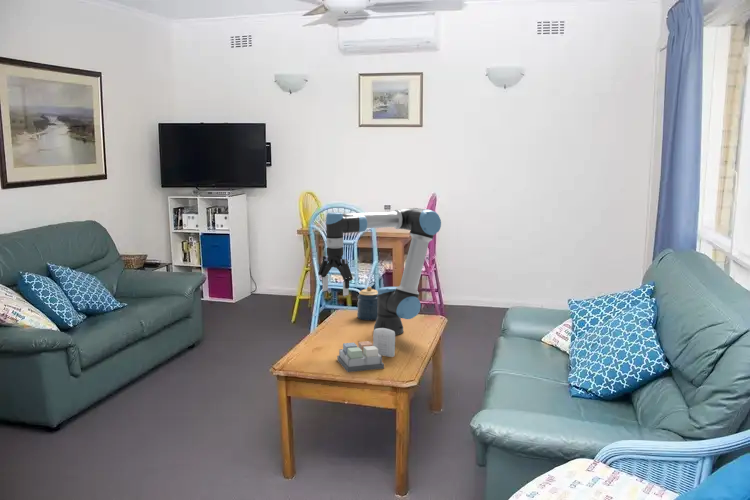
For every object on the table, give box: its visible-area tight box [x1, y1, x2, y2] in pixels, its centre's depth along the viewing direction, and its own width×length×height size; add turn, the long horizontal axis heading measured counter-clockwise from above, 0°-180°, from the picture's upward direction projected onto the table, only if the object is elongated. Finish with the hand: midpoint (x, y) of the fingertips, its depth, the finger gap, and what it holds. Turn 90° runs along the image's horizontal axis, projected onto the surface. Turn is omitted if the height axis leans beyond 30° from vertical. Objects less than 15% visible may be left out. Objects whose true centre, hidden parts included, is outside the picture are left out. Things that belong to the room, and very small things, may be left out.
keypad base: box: [336, 348, 385, 373], centre depth 266 cm, size 16×16×5 cm
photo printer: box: [372, 328, 396, 358], centre depth 279 cm, size 10×4×12 cm, turn 69°
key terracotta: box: [357, 340, 373, 352], centre depth 270 cm, size 5×5×4 cm
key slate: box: [342, 342, 358, 354], centre depth 268 cm, size 5×5×4 cm
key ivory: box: [363, 346, 378, 357], centre depth 264 cm, size 5×5×4 cm
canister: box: [356, 286, 378, 321], centre depth 343 cm, size 13×13×18 cm
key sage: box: [348, 346, 362, 359], centre depth 261 cm, size 5×5×4 cm
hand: (335, 293), depth 283 cm, fingers open, 13 cm apart
